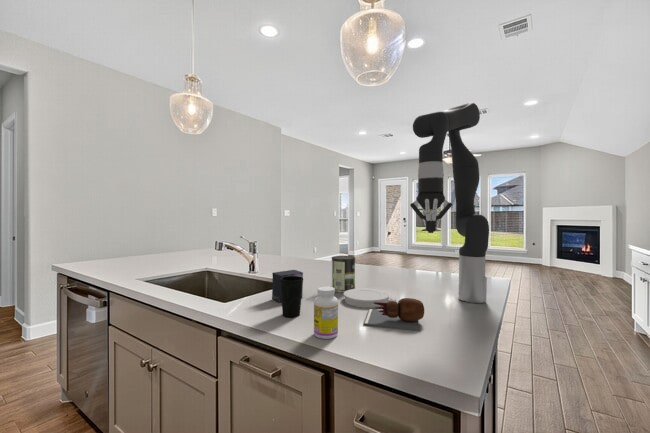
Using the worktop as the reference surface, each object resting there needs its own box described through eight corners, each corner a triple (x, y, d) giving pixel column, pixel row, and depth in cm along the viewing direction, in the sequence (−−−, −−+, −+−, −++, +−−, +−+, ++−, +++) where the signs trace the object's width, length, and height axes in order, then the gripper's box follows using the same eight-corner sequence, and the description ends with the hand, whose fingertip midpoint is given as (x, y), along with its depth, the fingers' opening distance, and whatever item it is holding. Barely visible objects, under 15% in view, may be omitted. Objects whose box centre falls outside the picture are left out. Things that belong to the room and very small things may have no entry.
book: (417, 314, 102) (417, 313, 102) (419, 330, 88) (419, 328, 88) (368, 310, 106) (368, 308, 106) (363, 325, 92) (363, 323, 92)
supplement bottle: (313, 330, 88) (313, 285, 88) (336, 330, 89) (336, 285, 88) (314, 340, 81) (314, 291, 81) (339, 339, 82) (339, 291, 82)
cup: (284, 320, 96) (284, 281, 96) (276, 313, 103) (276, 277, 103) (306, 316, 100) (307, 279, 99) (297, 309, 106) (297, 275, 106)
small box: (280, 303, 114) (280, 275, 114) (271, 299, 119) (271, 272, 119) (303, 298, 121) (303, 271, 121) (293, 294, 126) (293, 269, 126)
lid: (402, 308, 110) (402, 300, 110) (346, 309, 109) (346, 300, 108) (389, 295, 127) (389, 288, 127) (340, 295, 126) (340, 288, 126)
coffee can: (354, 286, 140) (354, 255, 139) (356, 292, 129) (356, 259, 129) (331, 286, 140) (331, 255, 140) (331, 292, 130) (331, 259, 129)
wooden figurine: (420, 296, 98) (372, 295, 98) (426, 301, 92) (375, 301, 92) (420, 317, 98) (372, 316, 98) (425, 324, 92) (375, 323, 92)
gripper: (451, 178, 99) (451, 232, 99) (408, 179, 102) (408, 231, 102) (455, 175, 92) (455, 233, 92) (409, 177, 95) (409, 233, 95)
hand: (430, 232), depth 97 cm, fingers closed
